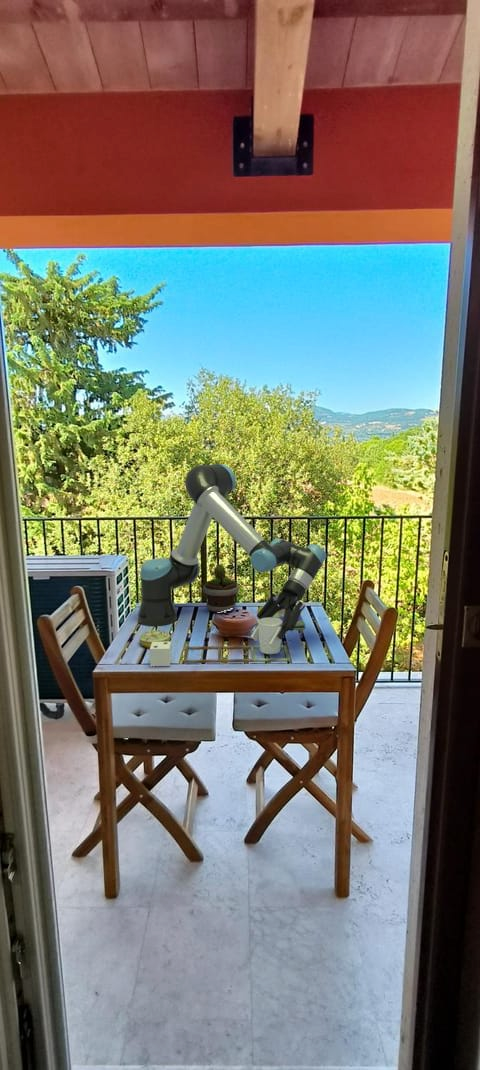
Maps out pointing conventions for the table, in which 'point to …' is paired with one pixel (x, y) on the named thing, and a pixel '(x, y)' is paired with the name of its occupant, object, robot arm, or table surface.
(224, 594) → the flowerpot
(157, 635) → the decorated donut
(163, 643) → the white die
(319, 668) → the table surface
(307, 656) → the table surface
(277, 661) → the flat rectangular frame
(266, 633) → the white cup
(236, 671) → the table surface
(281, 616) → the dish towel
